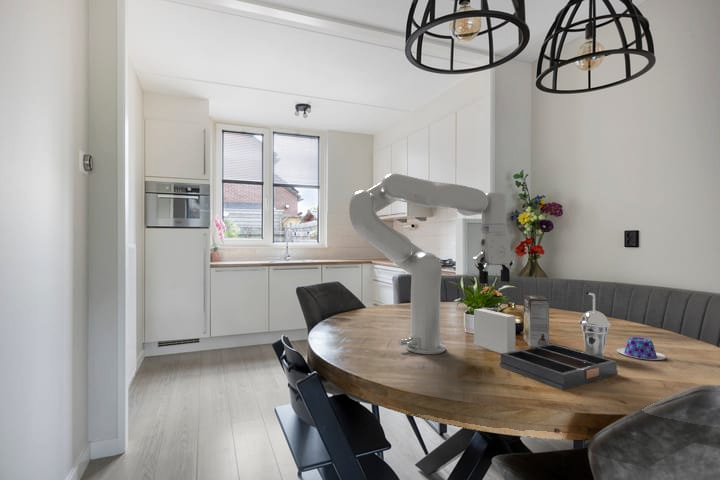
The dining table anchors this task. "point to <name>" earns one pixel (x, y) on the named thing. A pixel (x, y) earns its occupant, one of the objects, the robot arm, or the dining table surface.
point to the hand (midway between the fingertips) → (494, 282)
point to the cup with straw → (594, 330)
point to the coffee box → (536, 320)
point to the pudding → (641, 349)
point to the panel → (494, 330)
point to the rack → (558, 365)
